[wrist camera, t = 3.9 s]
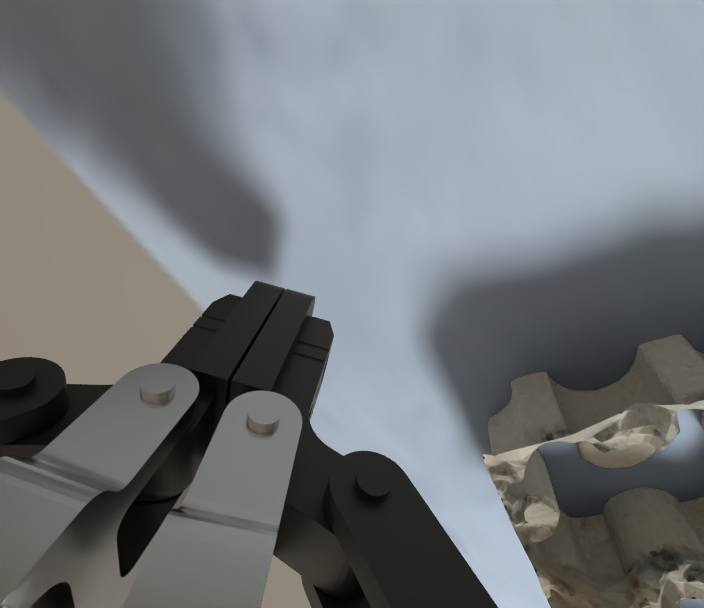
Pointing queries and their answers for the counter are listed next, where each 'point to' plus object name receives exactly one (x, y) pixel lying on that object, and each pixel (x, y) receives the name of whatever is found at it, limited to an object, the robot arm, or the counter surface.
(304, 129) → the counter surface
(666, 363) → the egg carton
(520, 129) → the counter surface
